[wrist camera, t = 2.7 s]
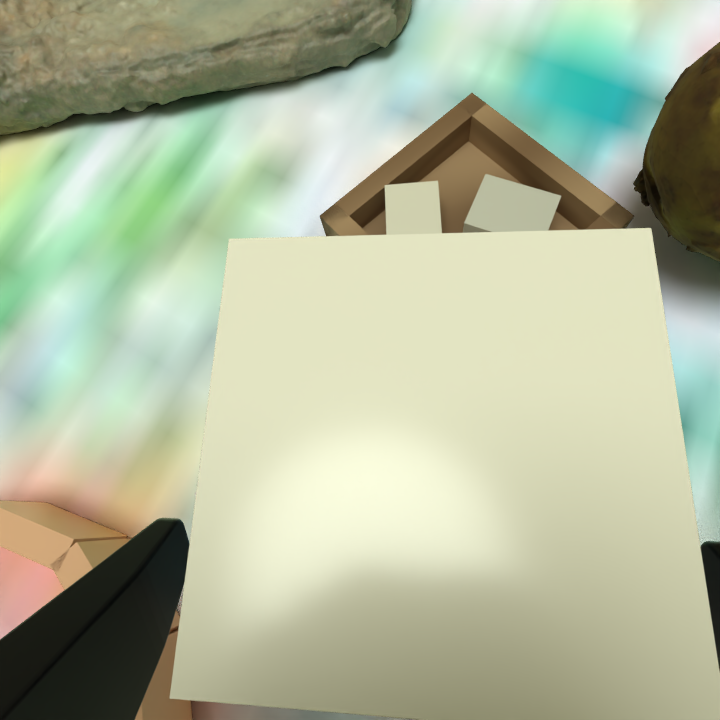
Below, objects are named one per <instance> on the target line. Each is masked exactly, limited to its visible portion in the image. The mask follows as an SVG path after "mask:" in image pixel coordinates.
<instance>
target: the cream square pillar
mask: <svg viewBox="0 0 720 720" xmlns="http://www.w3.org/2000/svg"><path fill="white" fill-rule="evenodd" d="M170 699H181V700H193V701H205V702H217V703H229V704H241V705H252V706H264V707H276V708H288V709H300V710H311V711H323V712H335V713H347V714H359V715H370V716H382V717H394V718H406V719H418V720H720V671H719V665H718V658H717V652H716V645H715V639H714V632H713V626H712V619H711V613H710V606H709V600H708V593H707V587H706V580H705V574H704V567H703V561H702V554H701V548H700V541H699V535H698V528H697V522H696V515H695V509H694V502H693V496H692V489H691V483H690V476H689V470H688V463H687V457H686V450H685V444H684V437H683V431H682V424H681V418H680V411H679V405H678V398H677V392H676V385H675V379H674V372H673V366H672V359H671V353H670V346H669V340H668V333H667V327H666V320H665V314H664V307H663V301H662V294H661V288H660V281H659V275H658V268H657V262H656V255H655V249H654V242H653V236H652V229H651V228H630V229H591V230H552V231H514V232H475V233H436V234H398V235H359V236H320V237H282V238H243V239H229V244H228V251H227V259H226V267H225V274H224V282H223V290H222V297H221V305H220V313H219V321H218V328H217V336H216V344H215V351H214V359H213V367H212V375H211V382H210V390H209V398H208V405H207V413H206V421H205V428H204V436H203V444H202V452H201V459H200V467H199V475H198V482H197V490H196V498H195V506H194V513H193V521H192V529H191V536H190V544H189V552H188V559H187V567H186V575H185V583H184V590H183V598H182V606H181V613H180V621H179V629H178V636H177V644H176V652H175V660H174V667H173V675H172V683H171V690H170Z"/></svg>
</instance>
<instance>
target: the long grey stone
mask: <svg viewBox="0 0 720 720" xmlns="http://www.w3.org/2000/svg"><path fill="white" fill-rule="evenodd" d="M411 3H412V0H0V135H5V134H11V133H20V132H22V131H27V130H33V129H36V128H38V127H40V126H43V127H48V126H51V125H52V124H54V123H57V122H58V121H63V120H65V119H66V118H68V117H69V116H71V115H72V114H79V113H85V114H96V113H103V112H105V113H111V112H112V111H114V110H119V109H121V108H122V107H124V108H125V109H127V110H129V111H133V112H139V111H143V110H144V109H146V108H147V106H150V105H152V104H154V103H159V104H167V103H168V102H171V101H175V100H177V99H179V98H181V97H187V96H193V95H198V94H205V93H208V92H215V91H229V90H233V89H241V88H247V87H249V88H250V87H253V86H258V85H266V84H269V83H274V82H279V81H280V82H286V81H288V80H292V81H296V80H298V79H300V78H302V77H303V76H307V75H309V74H313V73H316V72H320V71H321V70H323V69H325V68H329V67H332V66H342V67H347V66H348V65H349V63H350V62H352V61H353V60H354V59H355V58H357V57H359V56H361V55H366V54H368V53H369V52H372V51H374V50H377V49H378V48H379V47H381V46H382V47H384V48H385V47H387V46H388V44H389V43H390V41H391V40H394V39H395V38H396V37H397V36H398V34H400V33H401V31H402V29H403V26H404V25H405V24H406V22H407V19H408V16H409V12H410V10H411Z"/></svg>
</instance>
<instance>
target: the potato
mask: <svg viewBox="0 0 720 720" xmlns="http://www.w3.org/2000/svg"><path fill="white" fill-rule="evenodd" d="M665 100H666V101H665V103H664V105H663V107H662V109H661V111H660V114H659V116H658V118H657V120H656V123H655V125H654V127H653V129H652V131H651V134H650V136H649V139H648V142H647V145H646V149H645V153H644V159H643V169H642V170H641V171H640V172H639V174H638V176H637V178H636V180H635V181H634V183H633V185H634V186H636V187H635V188H634V189H635V191H638V192H639V193H641V200H642V203H643V204H644V205H645V206H649V205H650V206H651V208H652V211H653V212H654V214H655V216H656V218H657V219H658V220H659V221H660V222H661V224H662V225H663V227H664V228H665V229H666V230H667V232H668V237H669V236H671V235H672V236H673V237H674V238H675V239H676V240H678V241H679V242H681V244H684V245H686V246H687V248H686V250H688V251H691V252H699V253H702V254H704V255H706V256H708V257H710V258H712V259H714V260H716V261H719V262H720V42H719V43H718V44H717V45H715V46H714V47H713V48H712V49H710V50H709V51H708V52H707V53H705V54H704V55H703V56H702V57H700V58H699V59H698V60H697V61H696V62H694V63H693V64H692V65H691V66H690V67H688V68H686V69H685V70H684V71H683V73H682V74H681V75H680V77H679V78H678V80H677V82H676V83H675V85H674V86H673V88H672V89H671V91H670V92H669V93H668V95H667V96H666V97H665Z"/></svg>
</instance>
